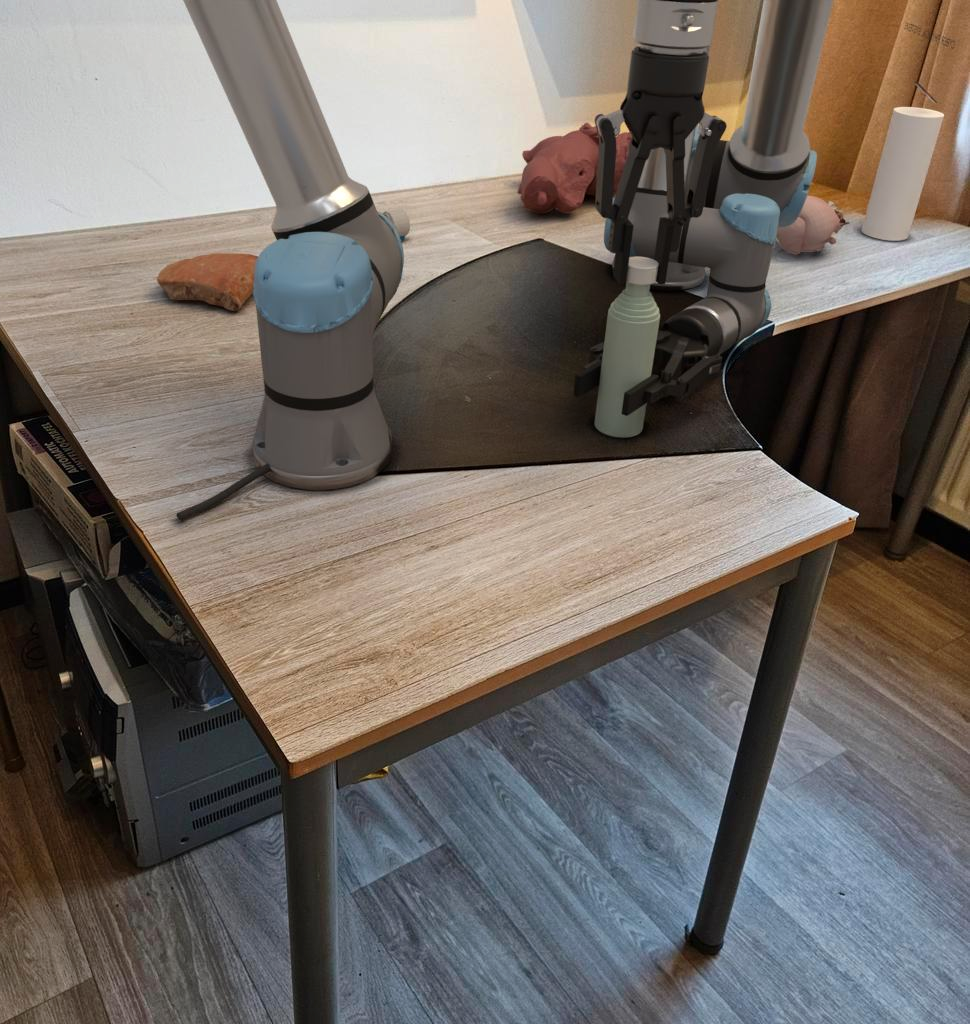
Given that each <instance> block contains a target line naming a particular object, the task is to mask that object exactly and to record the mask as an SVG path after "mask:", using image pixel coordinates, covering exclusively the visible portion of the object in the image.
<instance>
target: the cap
mask: <svg viewBox="0 0 970 1024" xmlns="http://www.w3.org/2000/svg"><path fill="white" fill-rule="evenodd" d="M658 266H659V263H658V262H657V261H655V260H653V259H651V258H647V257H629V264H628V272H627V280H626V282H629V283H632V284H638V285H648V284H652V283H654V282H656V279H657V273H658Z"/></svg>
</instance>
